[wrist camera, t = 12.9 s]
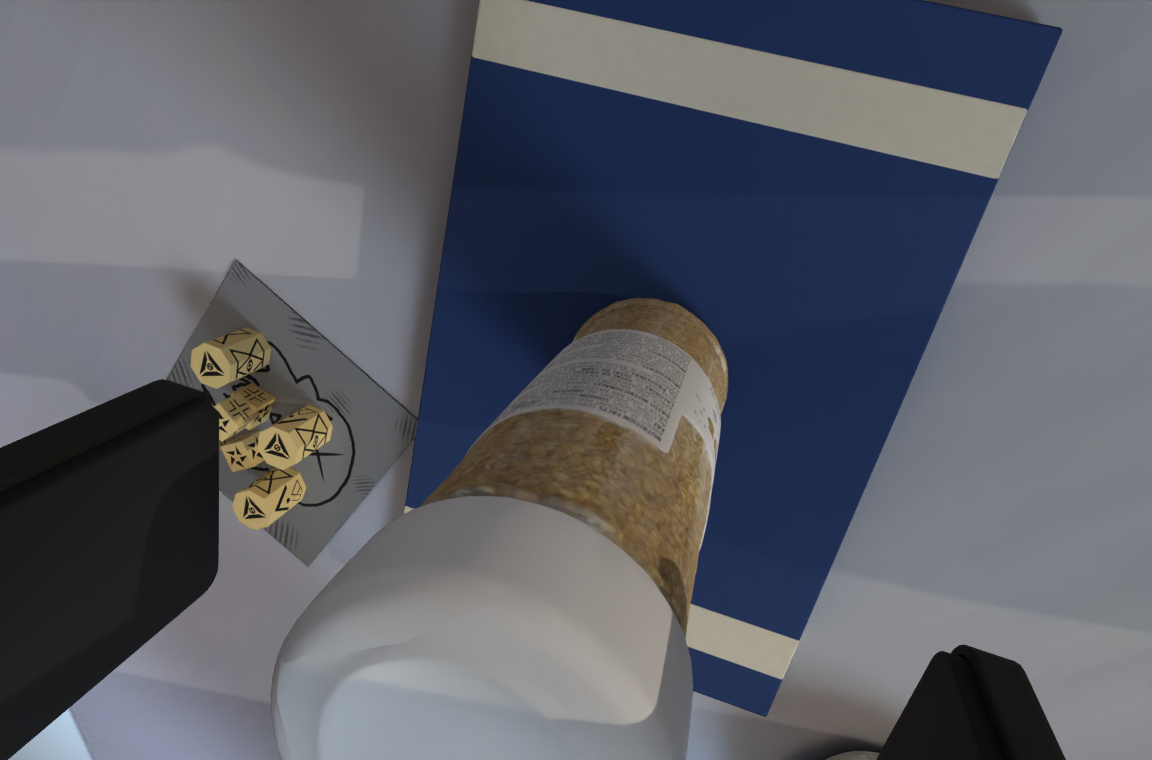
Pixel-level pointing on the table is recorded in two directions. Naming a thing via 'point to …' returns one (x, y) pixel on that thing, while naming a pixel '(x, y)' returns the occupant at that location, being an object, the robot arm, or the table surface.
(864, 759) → the bread roll
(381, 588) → the sprinkles bottle
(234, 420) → the dice set
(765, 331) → the towel
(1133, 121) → the table surface
